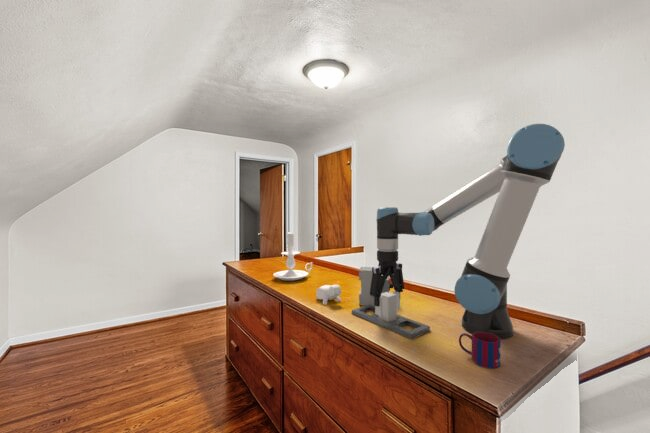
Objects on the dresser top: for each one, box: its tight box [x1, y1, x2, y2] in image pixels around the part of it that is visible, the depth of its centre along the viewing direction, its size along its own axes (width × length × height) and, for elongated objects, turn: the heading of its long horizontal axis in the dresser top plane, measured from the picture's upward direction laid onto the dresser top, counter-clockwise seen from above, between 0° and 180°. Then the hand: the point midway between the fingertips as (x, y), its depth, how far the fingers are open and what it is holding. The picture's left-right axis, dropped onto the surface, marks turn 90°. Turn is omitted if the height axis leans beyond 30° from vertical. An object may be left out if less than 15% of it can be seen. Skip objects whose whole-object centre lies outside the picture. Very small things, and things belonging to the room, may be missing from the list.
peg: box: [379, 291, 398, 322], centre depth 106 cm, size 5×5×10 cm
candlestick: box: [273, 231, 314, 282], centre depth 172 cm, size 21×25×28 cm
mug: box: [458, 332, 502, 369], centre depth 79 cm, size 7×10×7 cm
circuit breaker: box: [358, 266, 394, 306], centre depth 127 cm, size 8×14×15 cm, turn 78°
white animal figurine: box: [315, 284, 342, 306], centre depth 129 cm, size 9×8×15 cm
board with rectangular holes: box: [351, 305, 431, 340], centre depth 106 cm, size 28×10×2 cm, turn 37°
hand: (387, 311), depth 106 cm, fingers open, 9 cm apart
